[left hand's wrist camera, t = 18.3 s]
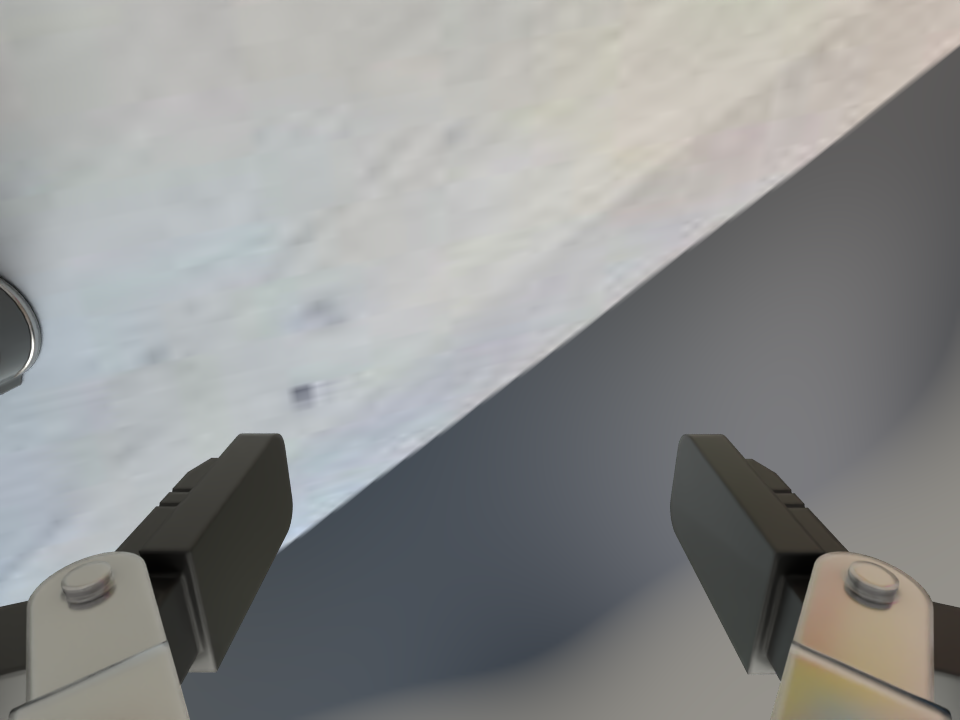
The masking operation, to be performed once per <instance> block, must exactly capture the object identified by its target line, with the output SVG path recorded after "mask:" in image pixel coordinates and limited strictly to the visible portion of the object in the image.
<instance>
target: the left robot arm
mask: <svg viewBox="0 0 960 720" xmlns="http://www.w3.org/2000/svg"><path fill="white" fill-rule="evenodd" d="M40 347H41V333H40V328H39V324H38V321H37V319H36V316H35V314H34V312H33V310H32V309H31V307H30V305H29V304H28V303H27V301H26V300H25V299H24V297H23V296H22V295H21V294H20V293H19V292H18V291H17V290H16V289H15V288H14V287H13V286H11V285H10V284H9V283H8V282H6V281H5V280H3V279H2V278H0V395H2V394H4V393H6V392H8V391H10V390H12V389H14V388H16V387H18V386H20V385H21V383H22V380H21V378H22V374H23V373H25V372H26V371H27V370H28V369H30V368H31V367H32V365H33V364H34V363H35V361H36V359H37V357H38V355H39V351H40ZM292 510H293V502H292V494H291V486H290V479H289V472H288V465H287V458H286V450H285V444H284V440H283V438H282V436H281V435H280V434H239V435H238V436H237V437H236V438H235V439H234V441H233V442H232V443H231V444H230V445H229V446H228V447H227V449H226V450H225V451H224V452H223V453H222V454H221V456H220V457H219V458H211V459H209V460H207V461H206V462H204V463H202V464H201V465H199V466H197V467H196V468H194V469H192V470H191V471H189V472H188V473H187V474H186V475H185V476H184V477H183V478H182V479H181V480H180V481H179V482H178V483H177V484H176V486H175V487H174V488H173V491H172V492H169V493H168V494H167V495H166V496H165V498H164V499H163V500H162V501H161V502H160V505H159V506H156V507H155V508H154V509H153V511H152V512H151V513H150V514H149V515H148V516H147V517H146V518H145V519H144V520H143V521H142V523H141V524H140V525H139V526H138V527H137V528H136V529H135V530H134V531H133V532H132V533H131V534H130V536H129V537H128V538H127V539H126V540H125V541H124V542H123V543H122V544H121V545H120V546H119V548H118V549H117V550H116V551H115V552H108V553H102V554H97V555H93V556H90V557H87V558H84V559H81V560H79V561H76V562H74V563H72V564H70V565H68V566H66V567H64V568H62V569H60V570H59V571H57V572H55V573H54V574H53V575H51V576H50V577H48V578H47V579H46V580H45V581H43V582H42V583H41V584H40V585H39V586H38V587H37V588H36V589H35V591H34V592H33V593H32V595H31V596H30V598H29V600H28V601H25V602H21V603H16V604H11V605H7V606H2V607H0V720H190V719H189V715H188V711H187V708H186V704H185V701H184V697H183V693H182V690H181V686H180V685H181V684H182V682H183V680H184V678H185V677H186V675H187V673H188V672H217V670H218V668H219V666H220V664H221V662H222V660H223V658H224V656H225V654H226V652H227V650H228V648H229V647H230V645H231V643H232V641H233V639H234V637H235V635H236V633H237V631H238V629H239V627H240V625H241V623H242V621H243V619H244V617H245V615H246V613H247V611H248V609H249V607H250V605H251V603H252V601H253V599H254V597H255V595H256V594H257V592H258V590H259V588H260V586H261V584H262V582H263V580H264V578H265V576H266V574H267V572H268V570H269V568H270V566H271V564H272V562H273V560H274V558H275V556H276V554H277V552H278V550H279V548H280V546H281V544H282V542H283V541H284V539H285V537H286V535H287V533H288V530H289V527H290V524H291V519H292ZM670 512H671V521H672V525H673V529H674V532H675V534H676V536H677V538H678V540H679V542H680V543H681V545H682V547H683V549H684V551H685V553H686V555H687V557H688V559H689V561H690V563H691V565H692V567H693V569H694V571H695V573H696V575H697V577H698V578H699V580H700V582H701V584H702V586H703V588H704V590H705V592H706V594H707V596H708V598H709V600H710V602H711V604H712V606H713V608H714V610H715V611H716V613H717V615H718V617H719V619H720V621H721V623H722V625H723V627H724V629H725V631H726V633H727V635H728V637H729V639H730V641H731V643H732V644H733V646H734V648H735V650H736V652H737V654H738V656H739V658H740V660H741V662H742V664H743V666H744V668H745V670H746V672H747V674H777V676H778V678H779V679H780V681H781V683H780V686H779V690H778V693H777V697H776V701H775V704H774V708H773V711H772V715H771V718H770V720H960V608H959V607H954V606H949V605H945V604H940V603H935V602H932V600H931V598H930V596H929V595H928V593H927V592H926V591H925V589H924V588H923V587H922V586H921V585H920V584H919V583H918V582H916V581H915V580H914V579H913V578H912V577H910V576H909V575H907V574H906V573H905V572H903V571H901V570H900V569H898V568H896V567H894V566H892V565H890V564H888V563H886V562H884V561H881V560H879V559H876V558H873V557H870V556H867V555H863V554H858V553H852V552H848V550H847V549H846V548H845V547H844V546H843V545H842V544H841V543H840V542H839V541H838V540H837V539H836V538H835V536H834V535H833V534H832V533H831V532H830V531H829V530H828V529H827V528H826V527H825V526H824V525H823V524H822V522H821V521H820V520H819V519H818V518H817V517H816V516H815V515H814V514H813V513H812V512H811V511H810V510H809V508H805V506H804V503H803V502H802V501H801V500H800V499H799V498H798V497H797V496H796V494H794V493H792V492H791V489H790V488H789V487H788V486H787V485H786V484H785V483H784V482H783V480H782V479H781V478H780V477H779V476H778V475H777V474H776V473H775V472H773V471H771V470H770V469H768V468H766V467H765V466H763V465H761V464H760V463H758V462H756V461H755V460H753V459H745V458H744V457H743V456H742V455H741V454H740V452H739V451H738V450H737V449H736V448H735V447H734V446H733V444H732V443H731V442H730V441H729V440H728V439H727V438H726V437H725V436H724V435H721V434H685V435H683V436H682V437H681V439H680V441H679V445H678V452H677V459H676V466H675V473H674V480H673V487H672V494H671V502H670Z"/></svg>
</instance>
